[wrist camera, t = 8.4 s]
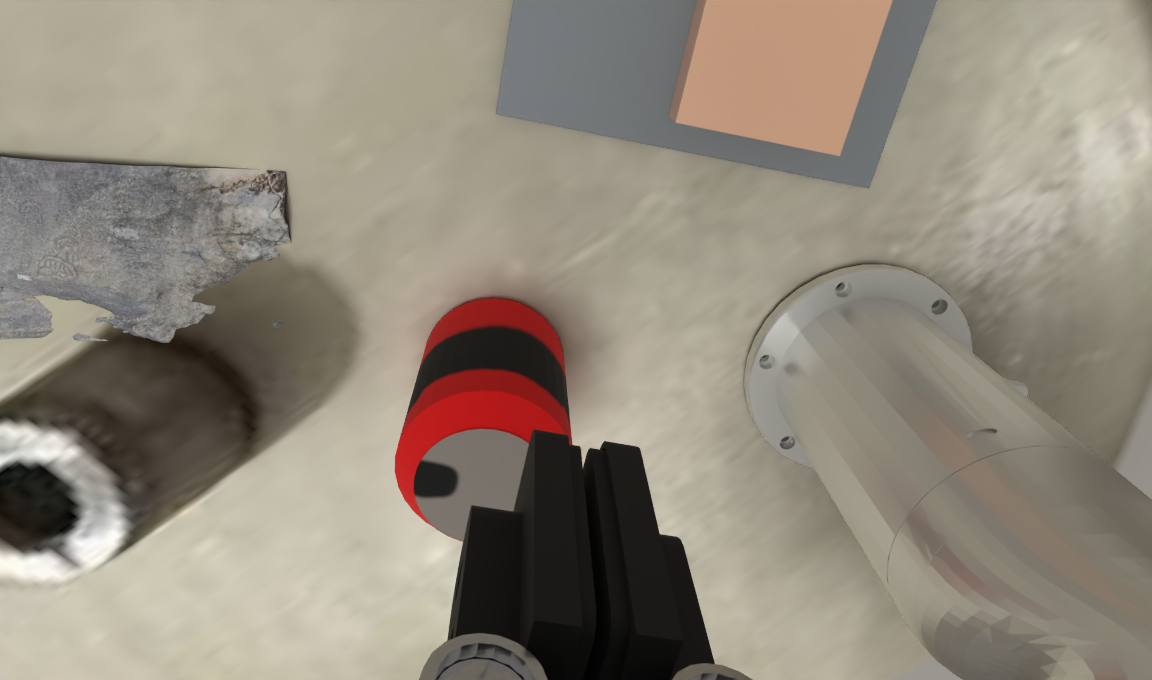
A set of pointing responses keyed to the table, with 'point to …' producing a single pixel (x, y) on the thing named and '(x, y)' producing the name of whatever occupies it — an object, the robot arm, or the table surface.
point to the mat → (649, 75)
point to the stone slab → (129, 240)
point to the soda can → (479, 410)
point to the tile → (778, 68)
